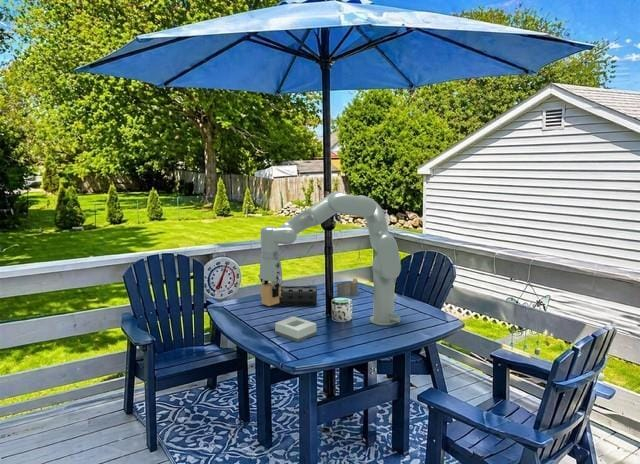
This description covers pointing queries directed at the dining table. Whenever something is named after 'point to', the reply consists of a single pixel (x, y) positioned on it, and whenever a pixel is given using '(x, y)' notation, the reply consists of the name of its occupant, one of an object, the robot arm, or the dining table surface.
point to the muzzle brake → (298, 295)
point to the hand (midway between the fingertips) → (270, 295)
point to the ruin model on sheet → (347, 288)
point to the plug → (269, 294)
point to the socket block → (295, 329)
